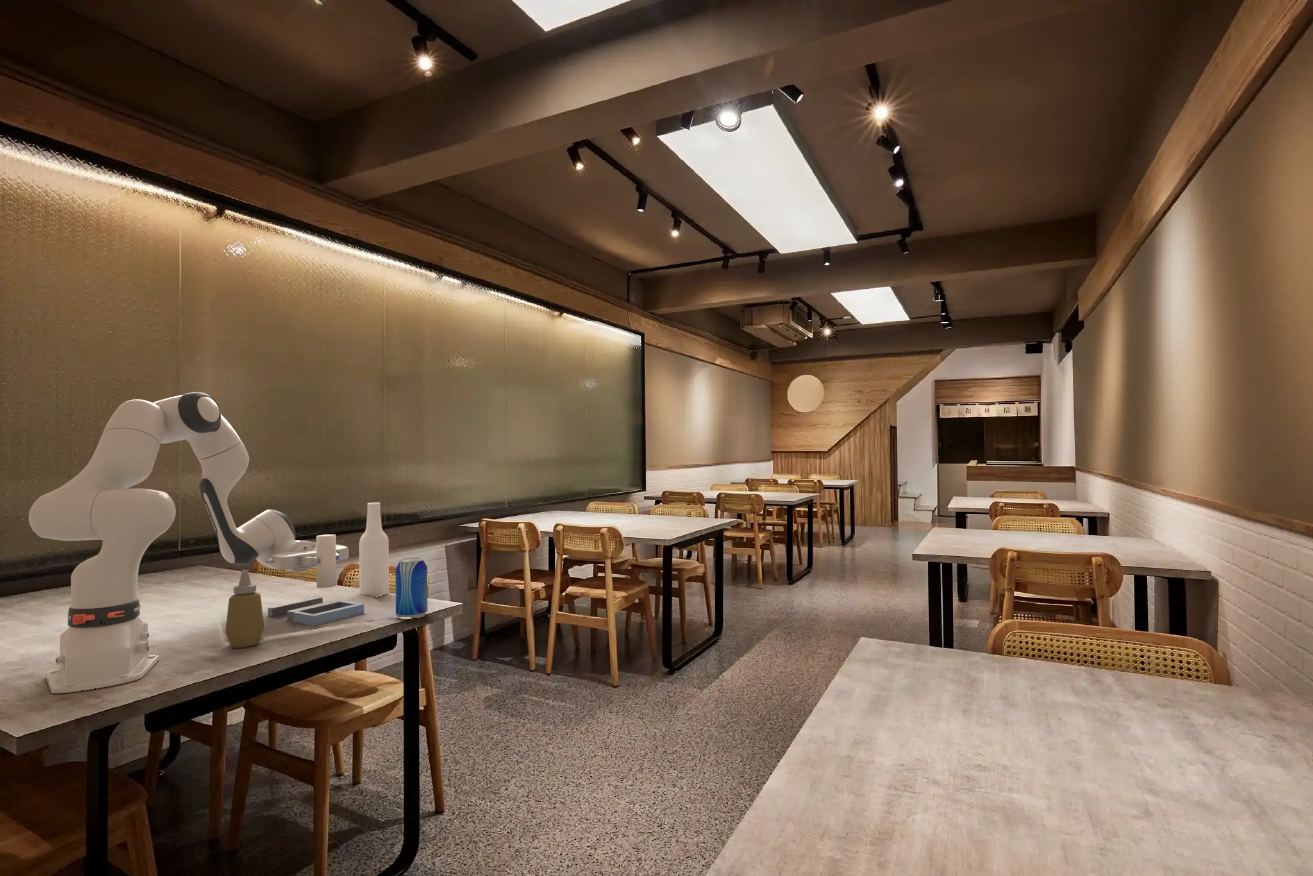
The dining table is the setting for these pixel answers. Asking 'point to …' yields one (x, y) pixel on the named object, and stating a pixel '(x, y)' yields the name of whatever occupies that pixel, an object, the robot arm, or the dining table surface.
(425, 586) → the beer can
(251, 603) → the squeeze bottle
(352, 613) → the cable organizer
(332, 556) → the plug post
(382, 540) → the alcohol
